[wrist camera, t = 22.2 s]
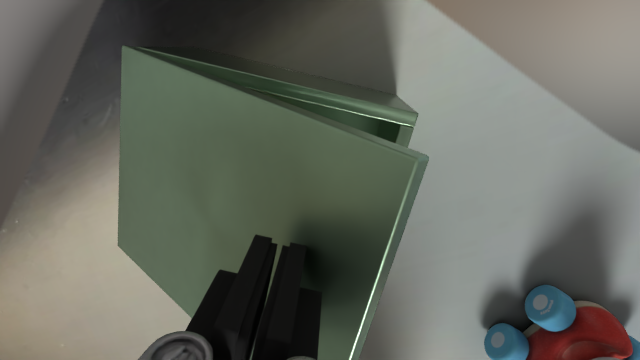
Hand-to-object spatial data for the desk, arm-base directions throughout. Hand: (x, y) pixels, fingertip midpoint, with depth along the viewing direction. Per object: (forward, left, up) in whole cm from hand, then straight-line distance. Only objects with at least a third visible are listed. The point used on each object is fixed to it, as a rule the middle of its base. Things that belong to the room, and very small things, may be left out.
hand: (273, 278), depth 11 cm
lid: (-2, -2, -3) cm, 4 cm away
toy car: (+22, +11, -14) cm, 28 cm away
